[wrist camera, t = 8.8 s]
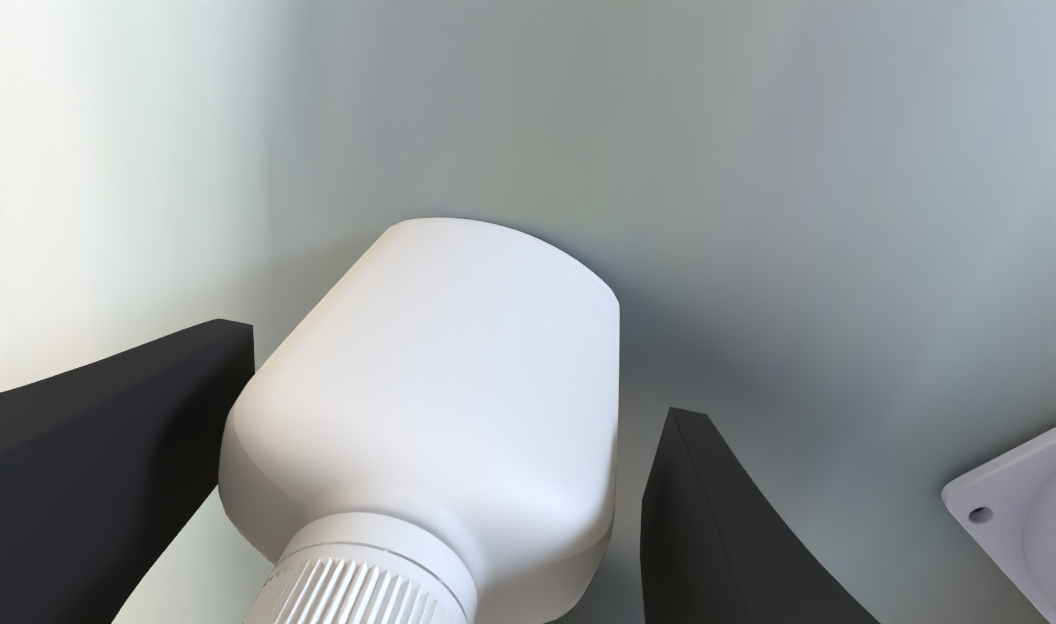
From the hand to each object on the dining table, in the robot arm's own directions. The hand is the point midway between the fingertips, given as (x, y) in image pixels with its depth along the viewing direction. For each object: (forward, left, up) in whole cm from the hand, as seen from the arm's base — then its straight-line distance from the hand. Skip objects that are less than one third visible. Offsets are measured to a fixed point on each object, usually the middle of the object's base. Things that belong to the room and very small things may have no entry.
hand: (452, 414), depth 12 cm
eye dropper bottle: (0, 0, -5) cm, 5 cm away
